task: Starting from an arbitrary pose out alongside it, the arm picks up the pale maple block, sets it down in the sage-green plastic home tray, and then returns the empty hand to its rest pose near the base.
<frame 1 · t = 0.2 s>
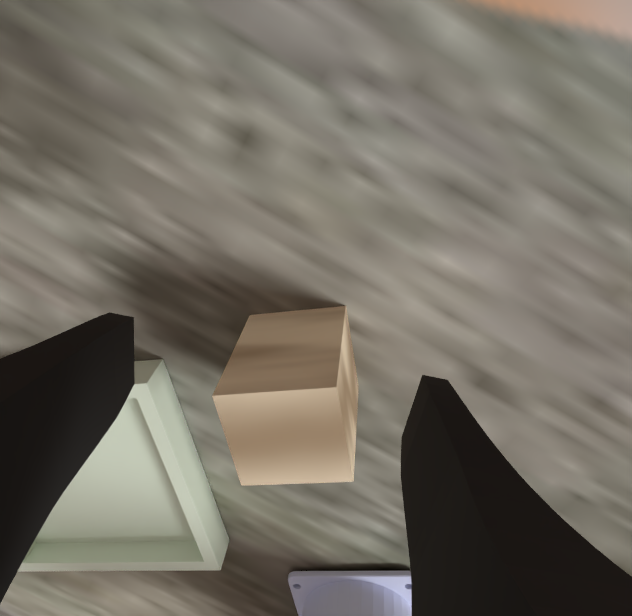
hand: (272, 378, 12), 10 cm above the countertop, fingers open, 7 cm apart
maple block: (305, 351, 24), on the countertop
home tray: (90, 464, 29), on the countertop
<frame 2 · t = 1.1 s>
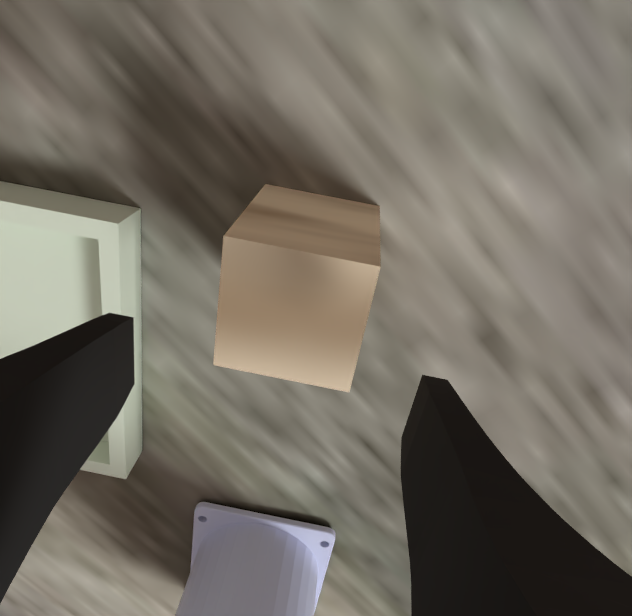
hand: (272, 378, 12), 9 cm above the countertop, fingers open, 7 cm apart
maple block: (313, 248, 20), on the countertop
home tray: (2, 318, 23), on the countertop
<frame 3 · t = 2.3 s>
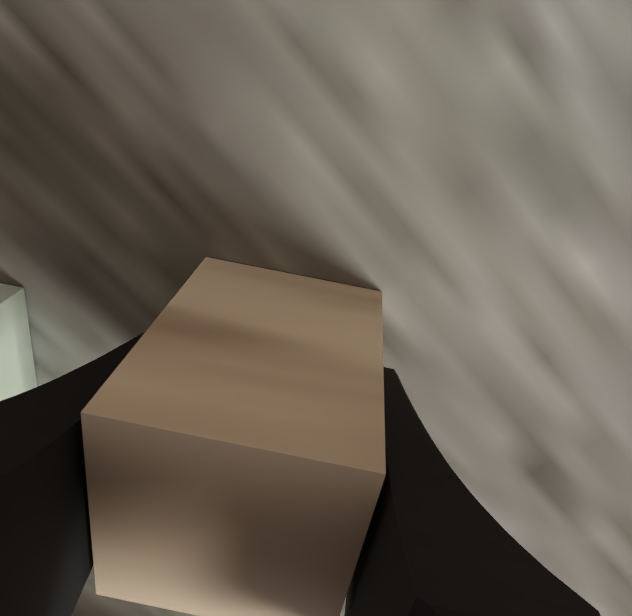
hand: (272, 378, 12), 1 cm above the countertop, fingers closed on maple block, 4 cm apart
maple block: (281, 348, 13), on the countertop, touching gripper
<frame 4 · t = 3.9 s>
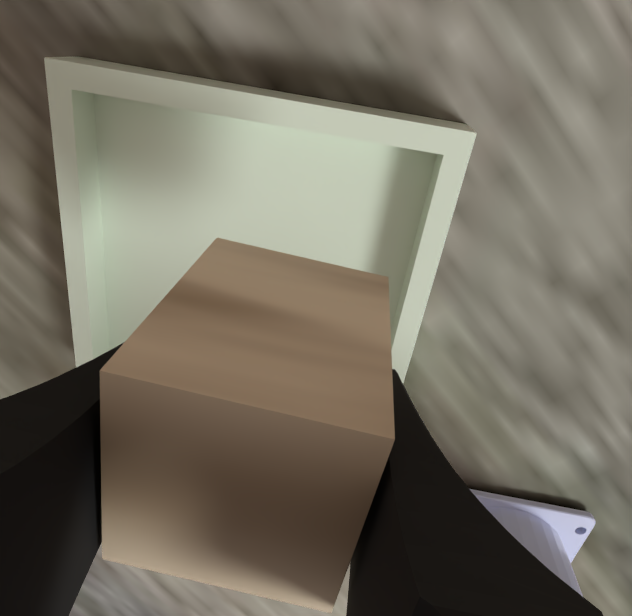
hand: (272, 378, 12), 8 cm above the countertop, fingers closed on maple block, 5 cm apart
maple block: (287, 331, 14), point 7 cm above the countertop, touching gripper
home tray: (253, 268, 20), on the countertop
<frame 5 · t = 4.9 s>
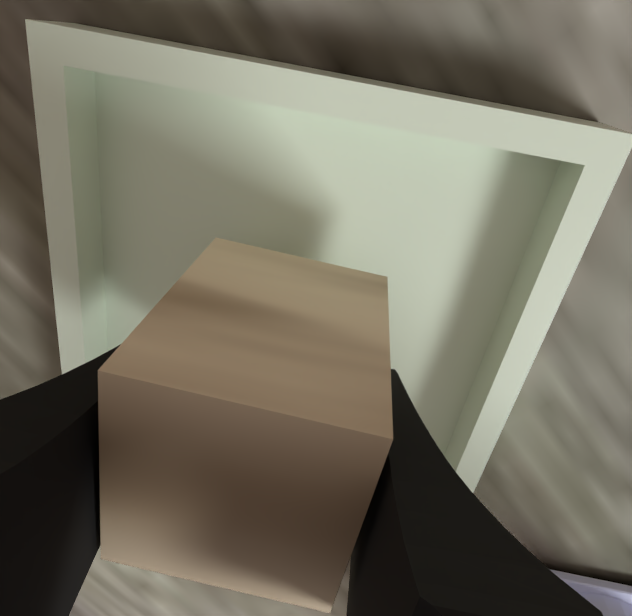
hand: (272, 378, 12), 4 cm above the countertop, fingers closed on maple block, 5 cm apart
maple block: (286, 330, 14), point 2 cm above the countertop, touching gripper
home tray: (296, 304, 16), on the countertop
when the fingers open (4 cm above the countertop, at t = 5.5 s): maple block drops 1 cm, resting on home tray.
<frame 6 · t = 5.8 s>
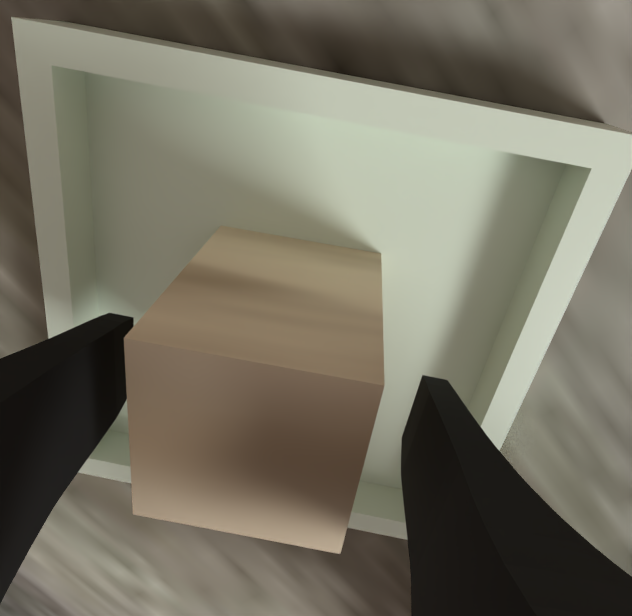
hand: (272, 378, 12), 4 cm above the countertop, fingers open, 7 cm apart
maple block: (291, 310, 15), point 1 cm above the countertop, touching home tray
home tray: (293, 310, 15), on the countertop
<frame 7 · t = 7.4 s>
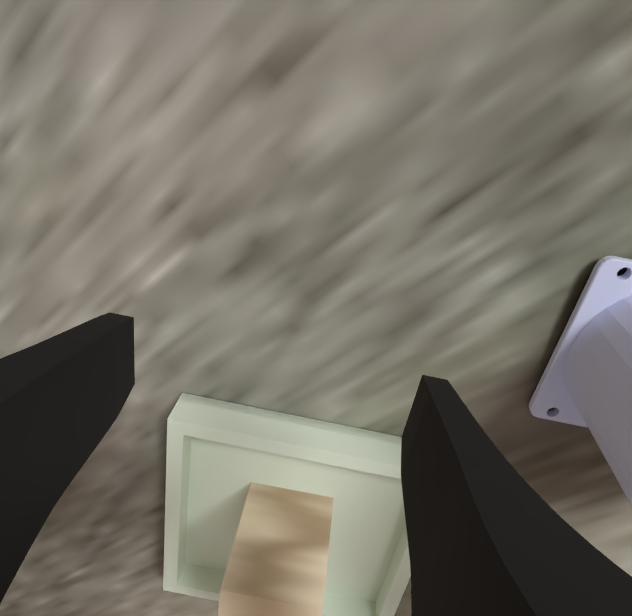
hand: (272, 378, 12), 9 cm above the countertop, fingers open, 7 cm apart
maple block: (287, 517, 28), point 1 cm above the countertop, touching home tray
home tray: (294, 509, 28), on the countertop
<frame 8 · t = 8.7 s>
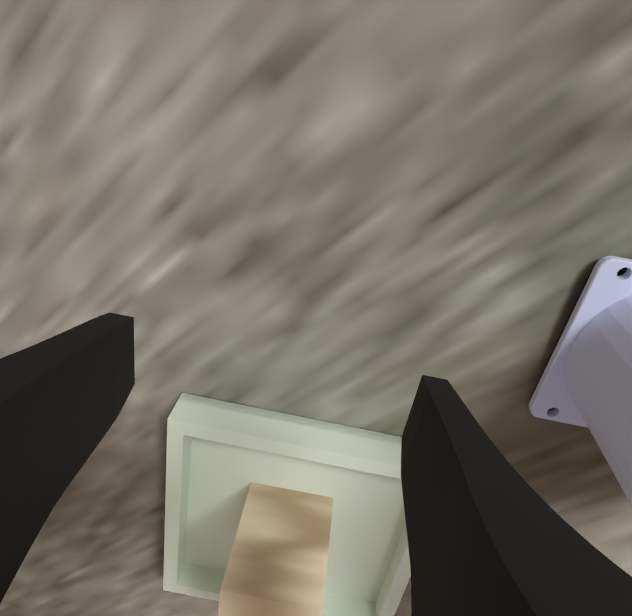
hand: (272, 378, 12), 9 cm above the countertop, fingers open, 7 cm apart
maple block: (287, 517, 28), point 1 cm above the countertop, touching home tray
home tray: (294, 509, 28), on the countertop
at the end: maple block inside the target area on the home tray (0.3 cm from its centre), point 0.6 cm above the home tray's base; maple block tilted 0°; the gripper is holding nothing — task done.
